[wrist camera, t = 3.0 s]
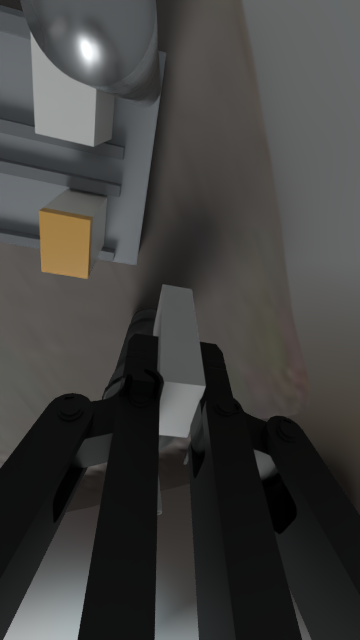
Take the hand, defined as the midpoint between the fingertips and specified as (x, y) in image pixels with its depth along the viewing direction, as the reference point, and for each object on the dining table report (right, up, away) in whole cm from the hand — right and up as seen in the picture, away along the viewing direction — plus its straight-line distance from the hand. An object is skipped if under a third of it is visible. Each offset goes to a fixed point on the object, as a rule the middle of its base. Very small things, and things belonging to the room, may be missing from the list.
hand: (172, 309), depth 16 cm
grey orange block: (-7, +8, +9) cm, 14 cm away
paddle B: (-6, +14, +5) cm, 16 cm away
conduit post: (-2, +15, +5) cm, 16 cm away
